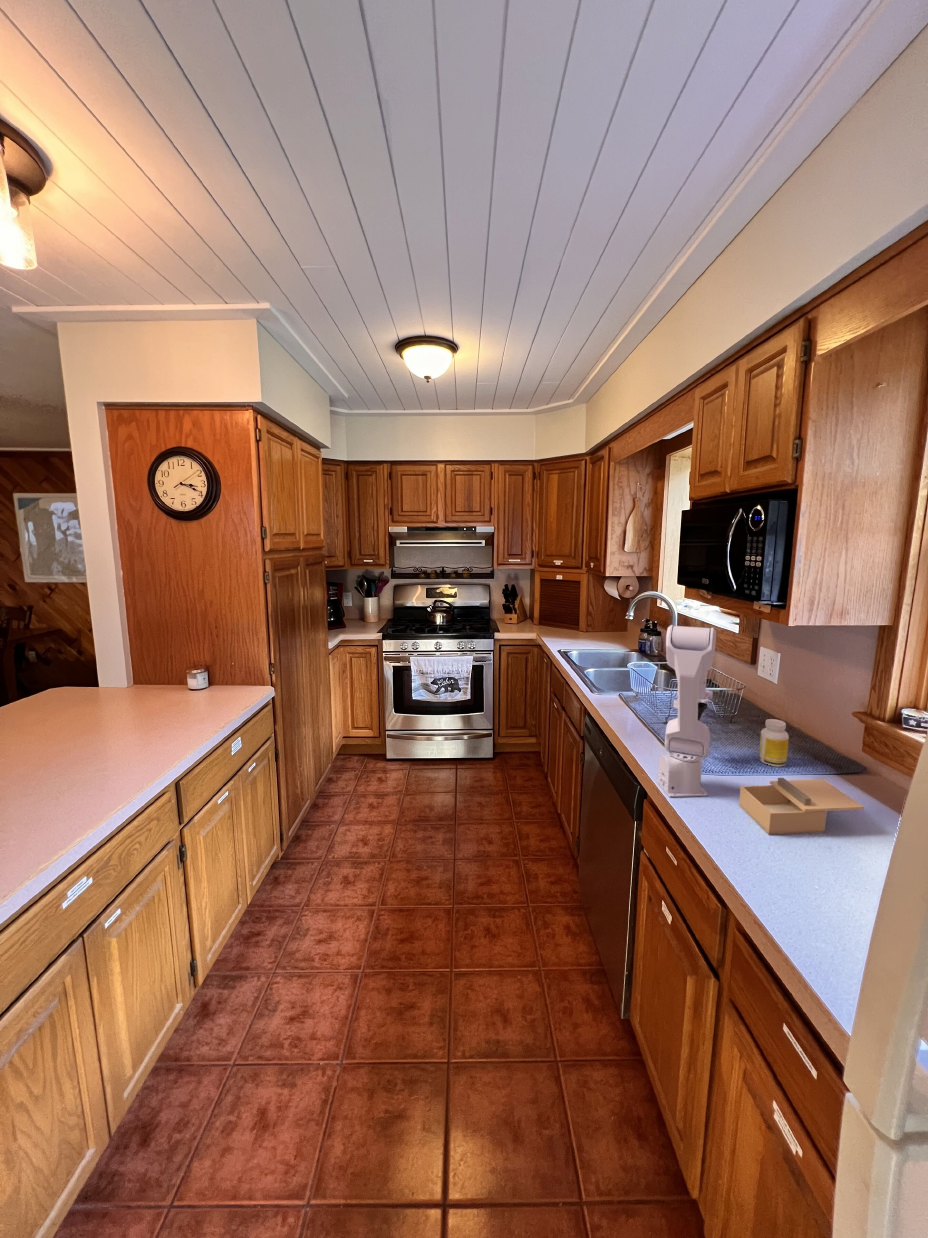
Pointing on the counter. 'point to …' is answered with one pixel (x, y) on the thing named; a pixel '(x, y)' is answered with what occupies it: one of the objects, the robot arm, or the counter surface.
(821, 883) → the counter surface
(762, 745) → the pill bottle
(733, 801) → the counter surface
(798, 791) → the lid
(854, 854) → the counter surface
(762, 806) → the mailer box
